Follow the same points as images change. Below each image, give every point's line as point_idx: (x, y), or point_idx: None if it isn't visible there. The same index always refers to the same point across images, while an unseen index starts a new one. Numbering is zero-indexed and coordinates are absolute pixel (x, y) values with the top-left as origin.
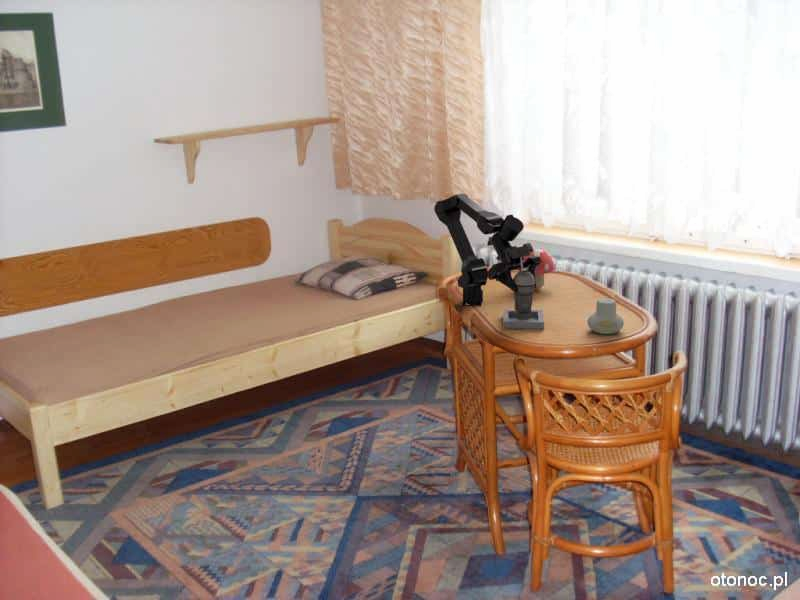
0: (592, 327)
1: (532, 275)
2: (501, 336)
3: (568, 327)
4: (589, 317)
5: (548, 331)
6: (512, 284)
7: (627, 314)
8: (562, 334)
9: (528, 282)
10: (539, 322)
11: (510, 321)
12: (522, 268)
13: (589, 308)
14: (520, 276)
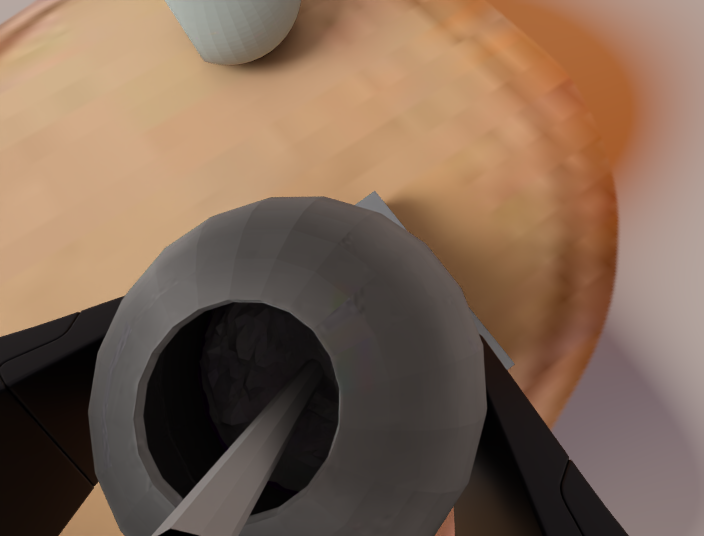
0: (299, 7)
1: (200, 225)
2: (586, 300)
3: (281, 148)
4: (252, 11)
5: (378, 180)
6: (539, 426)
7: (14, 73)
8: (373, 118)
9: (387, 218)
10: (388, 208)
11: (483, 332)
12: (196, 520)
13: (4, 221)
14: (462, 354)
